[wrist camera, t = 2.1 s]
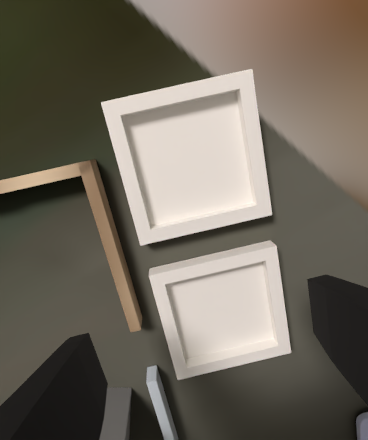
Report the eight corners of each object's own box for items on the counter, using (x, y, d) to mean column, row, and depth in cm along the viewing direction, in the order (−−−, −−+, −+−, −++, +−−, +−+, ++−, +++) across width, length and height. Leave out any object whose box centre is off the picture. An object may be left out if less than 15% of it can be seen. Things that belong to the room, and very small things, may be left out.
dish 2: (269, 240, 14) (276, 245, 13) (284, 342, 15) (291, 352, 14) (149, 268, 13) (148, 276, 13) (176, 368, 15) (177, 380, 14)
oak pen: (95, 158, 12) (88, 159, 11) (142, 317, 14) (140, 331, 13) (-137, 210, 12) (-166, 216, 11) (-54, 363, 14) (-71, 381, 13)
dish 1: (246, 74, 12) (252, 68, 11) (265, 211, 13) (272, 215, 12) (104, 105, 11) (101, 102, 11) (141, 239, 13) (140, 245, 12)
